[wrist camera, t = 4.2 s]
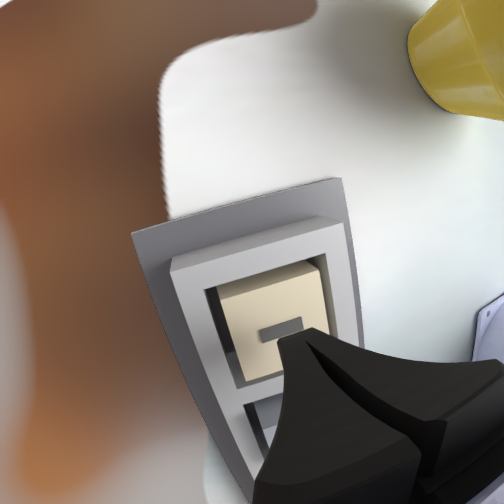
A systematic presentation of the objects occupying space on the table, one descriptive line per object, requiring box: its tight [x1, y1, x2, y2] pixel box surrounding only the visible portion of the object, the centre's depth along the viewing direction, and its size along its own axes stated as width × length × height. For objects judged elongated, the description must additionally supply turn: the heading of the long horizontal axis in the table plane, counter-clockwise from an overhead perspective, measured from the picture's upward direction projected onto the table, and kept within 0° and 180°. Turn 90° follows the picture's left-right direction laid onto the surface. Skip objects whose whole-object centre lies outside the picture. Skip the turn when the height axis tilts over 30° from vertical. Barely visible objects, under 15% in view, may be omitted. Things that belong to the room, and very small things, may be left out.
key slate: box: [253, 392, 283, 449], centre depth 14 cm, size 4×4×3 cm
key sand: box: [216, 260, 329, 381], centre depth 14 cm, size 4×4×3 cm
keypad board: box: [131, 178, 365, 504], centre depth 17 cm, size 10×28×3 cm, turn 14°
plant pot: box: [407, 0, 504, 121], centre depth 10 cm, size 10×10×10 cm
